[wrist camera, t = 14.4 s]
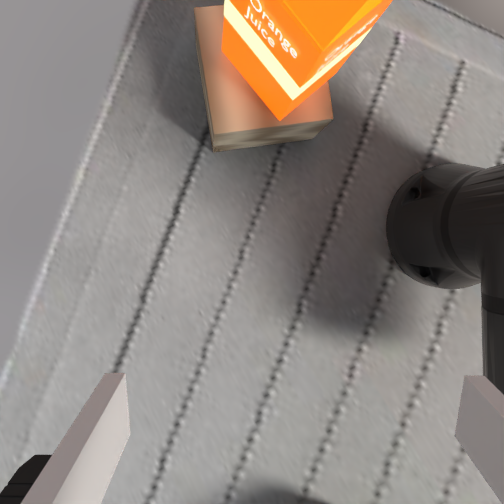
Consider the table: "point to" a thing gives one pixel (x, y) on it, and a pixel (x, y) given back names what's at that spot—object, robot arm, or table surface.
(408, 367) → the table surface
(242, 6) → the orange juice
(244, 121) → the birch block
